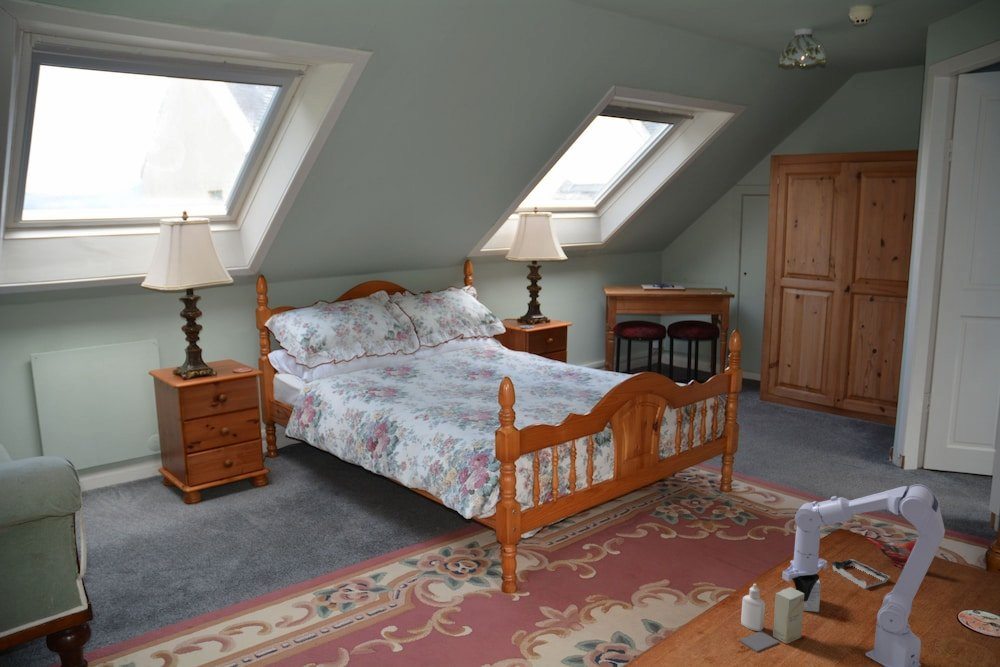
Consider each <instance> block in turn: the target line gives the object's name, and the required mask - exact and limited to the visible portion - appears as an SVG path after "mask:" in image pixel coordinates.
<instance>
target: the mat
mask: <svg viewBox="0 0 1000 667" xmlns="http://www.w3.org/2000/svg"><path fill="white" fill-rule="evenodd" d="M739 642H740V643H742V644H743V645H744V646H746V647H748V648H749V649H751V650H752V651H754V652H756V653H759V652H761V651H763V650H767V649H768V648H771V647H773V646H775V645H778V644H780V640H778V639H776V638H775V637H773V636H771V635H770V634H768V633H766V632H764V631H763V630H761V631H757V632H756V633H753V634H751V635H748V636H746V637H743V638H740V639H739Z"/></svg>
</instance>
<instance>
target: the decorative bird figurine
mask: <svg viewBox="0 0 1000 667" xmlns="http://www.w3.org/2000/svg"><path fill="white" fill-rule="evenodd" d="M864 538H865V539H866V540H867V541H869V542H871V544H872V543H873V545H875V546H876V547H877V548H878V549H879V550H880V551H881V552H882V554H884V555H885V556H886V557H888V558H889V559H890V560H892V561H893V562H891V563H890V564H891V565H893V566H895V565H896V566H895V567H899V568H900V569H903V568H904V566H905V565H901V564H906V562H907V560H908V558H909V556H910V554H911V552H912V550H913V547H914V545H915V543H916V541H917V540H912V541H911V540H910V541H908V542H906V543H898V542H896V543H895V542H884V543H881V542H879V541H876V540H874V539H872V538H869V537H867V536H864ZM899 563H900V564H899Z"/></svg>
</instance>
